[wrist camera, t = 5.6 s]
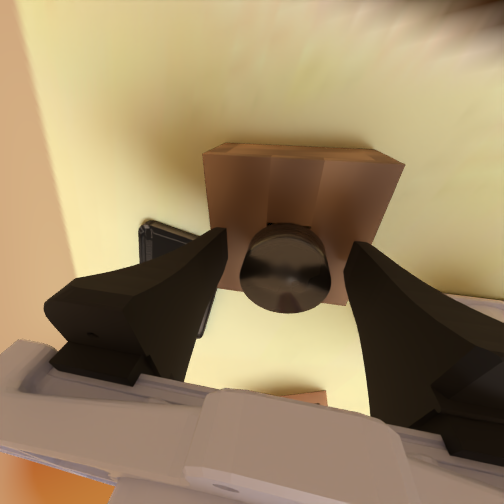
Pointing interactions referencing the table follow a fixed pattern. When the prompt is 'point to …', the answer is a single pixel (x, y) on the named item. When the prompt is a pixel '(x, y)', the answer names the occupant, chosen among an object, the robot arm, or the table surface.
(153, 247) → the phone
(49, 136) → the table surface
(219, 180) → the box
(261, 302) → the dark round knob
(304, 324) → the table surface
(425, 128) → the table surface
